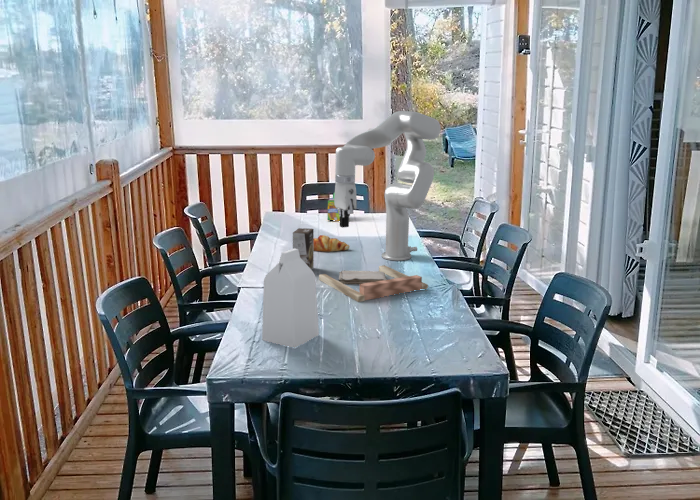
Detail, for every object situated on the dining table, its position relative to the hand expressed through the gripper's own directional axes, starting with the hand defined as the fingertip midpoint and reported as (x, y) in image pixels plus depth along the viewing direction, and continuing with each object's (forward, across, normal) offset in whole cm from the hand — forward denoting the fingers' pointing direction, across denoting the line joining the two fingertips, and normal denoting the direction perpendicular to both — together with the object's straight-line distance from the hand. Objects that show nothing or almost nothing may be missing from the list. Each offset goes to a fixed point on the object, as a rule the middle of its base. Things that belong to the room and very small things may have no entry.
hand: (344, 226), depth 254 cm
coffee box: (+18, +8, +14) cm, 24 cm away
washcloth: (+19, -14, 0) cm, 23 cm away
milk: (+19, -54, +48) cm, 74 cm away
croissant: (+18, +33, -10) cm, 39 cm away
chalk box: (+17, +88, -46) cm, 101 cm away
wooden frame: (+18, -21, 0) cm, 27 cm away
